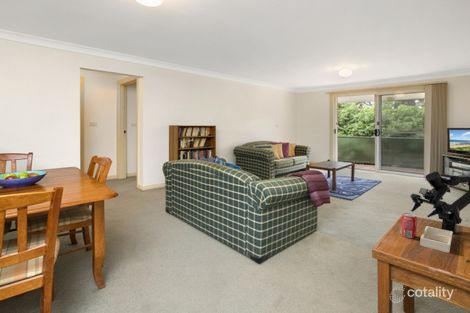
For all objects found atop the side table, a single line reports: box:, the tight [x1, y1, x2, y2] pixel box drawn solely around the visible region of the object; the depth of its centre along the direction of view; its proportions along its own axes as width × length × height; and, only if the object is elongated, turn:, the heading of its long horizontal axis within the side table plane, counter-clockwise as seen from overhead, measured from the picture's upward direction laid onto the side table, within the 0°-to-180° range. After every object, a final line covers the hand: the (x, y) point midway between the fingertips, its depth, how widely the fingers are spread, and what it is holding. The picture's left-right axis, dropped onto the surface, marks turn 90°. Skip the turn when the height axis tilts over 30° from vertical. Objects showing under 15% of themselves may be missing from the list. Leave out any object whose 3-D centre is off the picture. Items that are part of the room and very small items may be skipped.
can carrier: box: [419, 225, 453, 254], centre depth 129 cm, size 21×11×4 cm, turn 137°
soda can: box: [400, 212, 418, 239], centre depth 136 cm, size 7×7×12 cm
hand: (419, 213), depth 137 cm, fingers open, 9 cm apart
